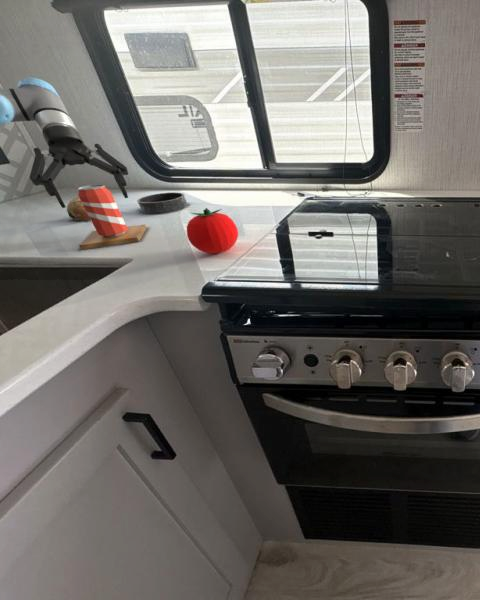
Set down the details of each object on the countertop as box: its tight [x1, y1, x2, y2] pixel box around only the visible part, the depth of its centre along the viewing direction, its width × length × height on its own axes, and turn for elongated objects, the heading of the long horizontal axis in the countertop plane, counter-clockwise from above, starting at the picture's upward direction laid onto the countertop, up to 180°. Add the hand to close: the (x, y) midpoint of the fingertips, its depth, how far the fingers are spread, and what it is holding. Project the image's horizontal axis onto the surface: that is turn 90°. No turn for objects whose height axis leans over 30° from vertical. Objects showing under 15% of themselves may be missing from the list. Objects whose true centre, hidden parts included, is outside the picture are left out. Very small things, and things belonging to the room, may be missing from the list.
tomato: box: [186, 207, 239, 255], centre depth 76 cm, size 10×10×10 cm
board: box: [78, 224, 147, 250], centre depth 87 cm, size 12×11×1 cm
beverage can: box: [77, 184, 128, 237], centre depth 83 cm, size 6×6×12 cm
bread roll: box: [66, 196, 91, 222], centre depth 102 cm, size 10×10×8 cm
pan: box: [136, 191, 188, 215], centre depth 110 cm, size 13×13×4 cm
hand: (95, 199), depth 89 cm, fingers open, 13 cm apart
